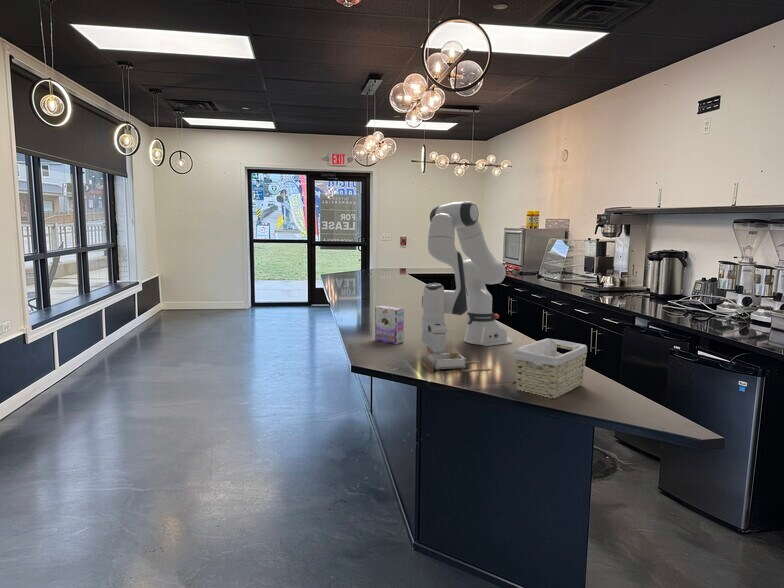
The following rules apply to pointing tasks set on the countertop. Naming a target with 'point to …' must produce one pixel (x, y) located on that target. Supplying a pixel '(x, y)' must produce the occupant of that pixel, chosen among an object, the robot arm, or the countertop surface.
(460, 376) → the countertop surface
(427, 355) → the block
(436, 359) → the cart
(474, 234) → the robot arm
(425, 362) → the track
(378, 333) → the candy box
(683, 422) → the countertop surface
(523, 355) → the storage basket
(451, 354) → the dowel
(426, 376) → the countertop surface
